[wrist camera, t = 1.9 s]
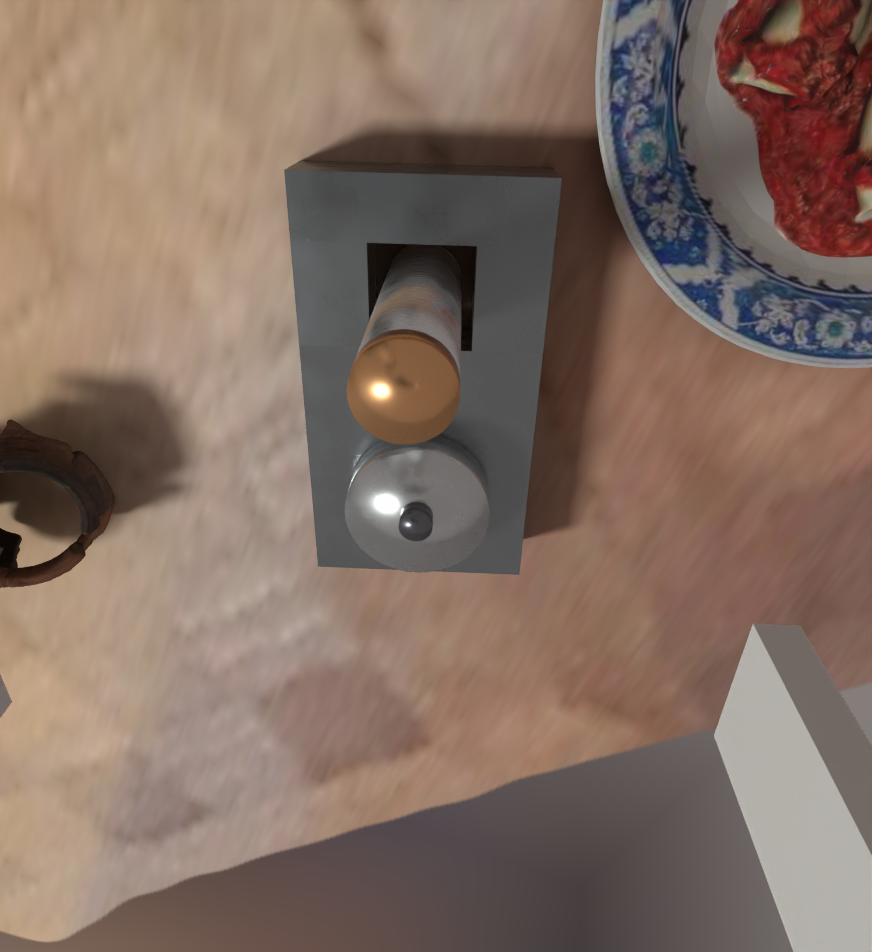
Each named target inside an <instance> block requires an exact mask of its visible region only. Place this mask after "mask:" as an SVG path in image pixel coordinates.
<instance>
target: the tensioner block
mask: <svg viewBox="0 0 872 952" xmlns="http://www.w3.org/2000/svg"><path fill="white" fill-rule="evenodd" d="M284 172H285V184H286V195H287V207H288V219H289V230H290V242H291V254H292V265H293V277H294V289H295V301H296V312H297V324H298V336H299V347H300V359H301V371H302V382H303V394H304V406H305V417H306V429H307V441H308V452H309V464H310V476H311V487H312V499H313V511H314V522H315V534H316V546H317V558H318V566H320V567H344V568H369V569H393V570H402V571H407V572H432V571H442V572H467V573H492V574H516V575H519V571H520V562H521V553H522V544H523V534H524V525H525V516H526V507H527V497H528V488H529V479H530V470H531V460H532V451H533V442H534V433H535V423H536V414H537V405H538V396H539V386H540V377H541V368H542V359H543V349H544V340H545V331H546V322H547V313H548V303H549V294H550V285H551V276H552V266H553V257H554V248H555V239H556V229H557V220H558V211H559V202H560V192H561V183H562V177H561V176H560V175H559V174H558V173H557V171H556V170H555V169H554V168H533V167H497V166H462V165H427V164H392V163H357V162H321V161H299V162H297V163H296V164H294V165H292V166H290V167H289V168H287V169H285V170H284ZM375 243H392V244H424V245H457V246H475V265H474V285H473V305H472V325H471V329H461V364H460V400H459V406H458V410H457V412H456V415H455V417H454V418H453V420H452V422H451V423H450V424H449V425H448V427H447V428H446V429H445V430H444V431H443V432H441V433H440V434H439V435H437V436H436V437H434V438H432V439H430V440H427V441H425V442H421V443H417V444H408V445H402V444H394V443H390V442H386V441H383V440H381V439H379V438H377V437H375V436H373V435H372V434H370V433H369V432H368V431H366V430H365V429H364V428H363V427H362V426H361V425H360V424H359V423H358V421H357V420H356V419H355V417H354V415H353V414H352V412H351V409H350V407H349V403H348V400H347V382H348V377H349V374H350V371H351V369H352V366H353V363H354V361H355V358H356V355H357V353H358V350H359V347H360V345H361V342H362V339H363V337H364V334H365V331H366V329H367V326H368V323H369V321H370V318H371V315H372V313H373V310H374V307H375V305H376V302H377V295H376V252H375Z"/></svg>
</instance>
